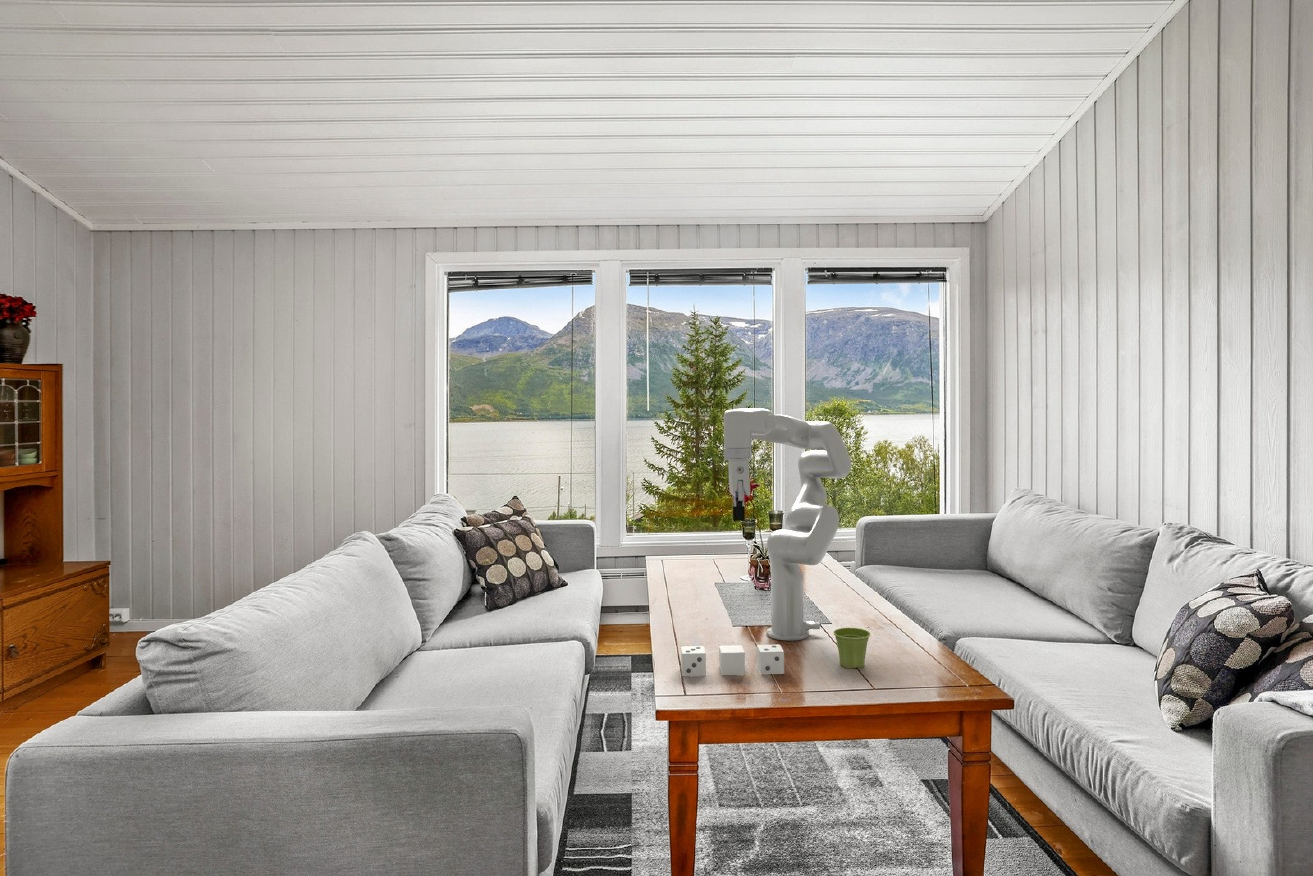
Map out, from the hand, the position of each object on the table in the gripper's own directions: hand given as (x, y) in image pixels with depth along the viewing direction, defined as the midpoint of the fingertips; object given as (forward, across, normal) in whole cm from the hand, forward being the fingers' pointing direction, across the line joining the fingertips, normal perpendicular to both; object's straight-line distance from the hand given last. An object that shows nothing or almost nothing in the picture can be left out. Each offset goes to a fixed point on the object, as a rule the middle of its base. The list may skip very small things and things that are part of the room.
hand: (738, 520), depth 215 cm
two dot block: (+37, -15, -6) cm, 41 cm away
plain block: (+37, -15, +4) cm, 40 cm away
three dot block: (+37, -15, +14) cm, 43 cm away
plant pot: (+37, -12, -28) cm, 48 cm away
